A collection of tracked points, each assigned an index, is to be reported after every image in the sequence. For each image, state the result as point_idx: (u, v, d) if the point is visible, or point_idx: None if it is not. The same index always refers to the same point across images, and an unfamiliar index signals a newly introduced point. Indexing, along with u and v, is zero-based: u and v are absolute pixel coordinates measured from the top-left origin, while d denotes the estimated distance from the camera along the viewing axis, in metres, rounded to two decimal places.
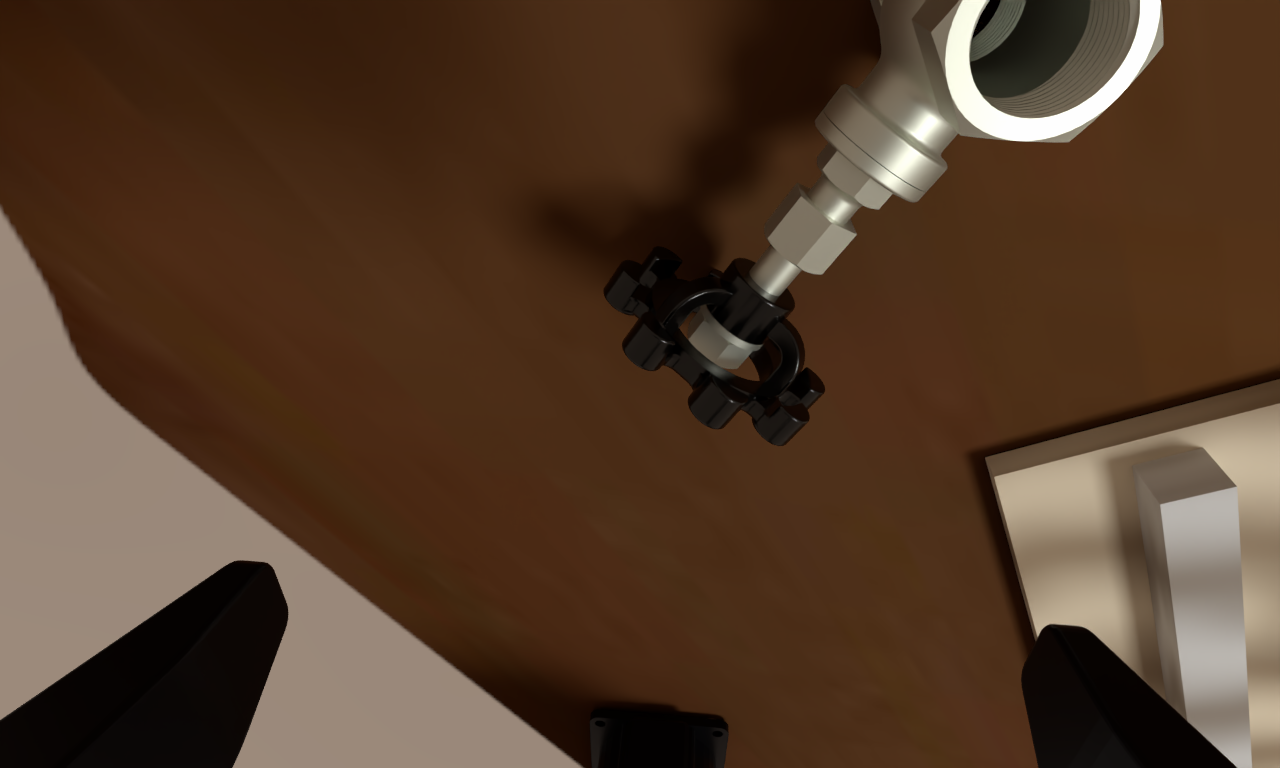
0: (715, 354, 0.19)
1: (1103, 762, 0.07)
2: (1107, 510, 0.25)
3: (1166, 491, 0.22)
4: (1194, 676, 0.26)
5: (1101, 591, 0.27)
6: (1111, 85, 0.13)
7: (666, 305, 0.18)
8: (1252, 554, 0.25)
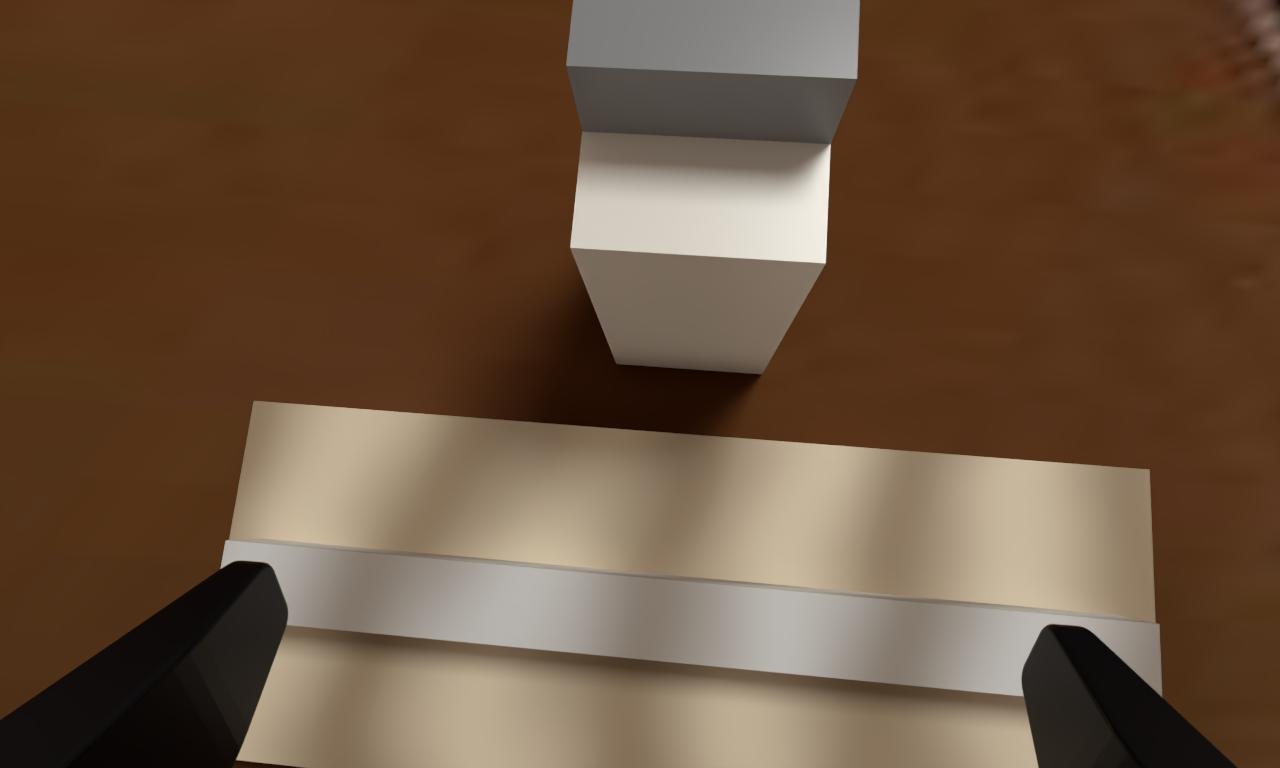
0: None
1: (1103, 762, 0.07)
2: (304, 648, 0.21)
3: None
4: (546, 634, 0.19)
5: (438, 686, 0.21)
6: None
7: None
8: (449, 512, 0.21)
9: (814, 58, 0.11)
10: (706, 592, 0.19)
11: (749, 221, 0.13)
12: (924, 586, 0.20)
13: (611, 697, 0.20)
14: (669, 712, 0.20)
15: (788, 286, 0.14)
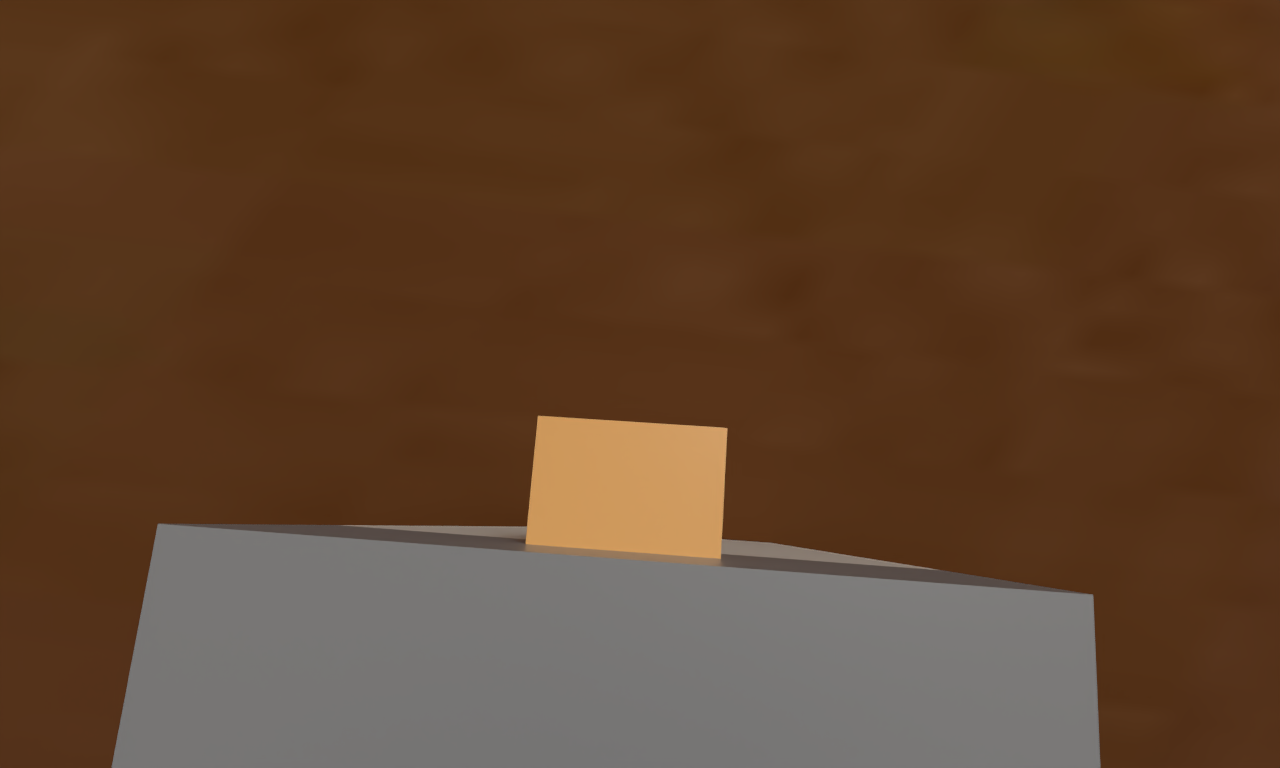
0: None
1: None
2: None
3: None
4: None
5: None
6: None
7: None
8: None
9: None
10: None
11: None
12: None
13: None
14: None
15: None
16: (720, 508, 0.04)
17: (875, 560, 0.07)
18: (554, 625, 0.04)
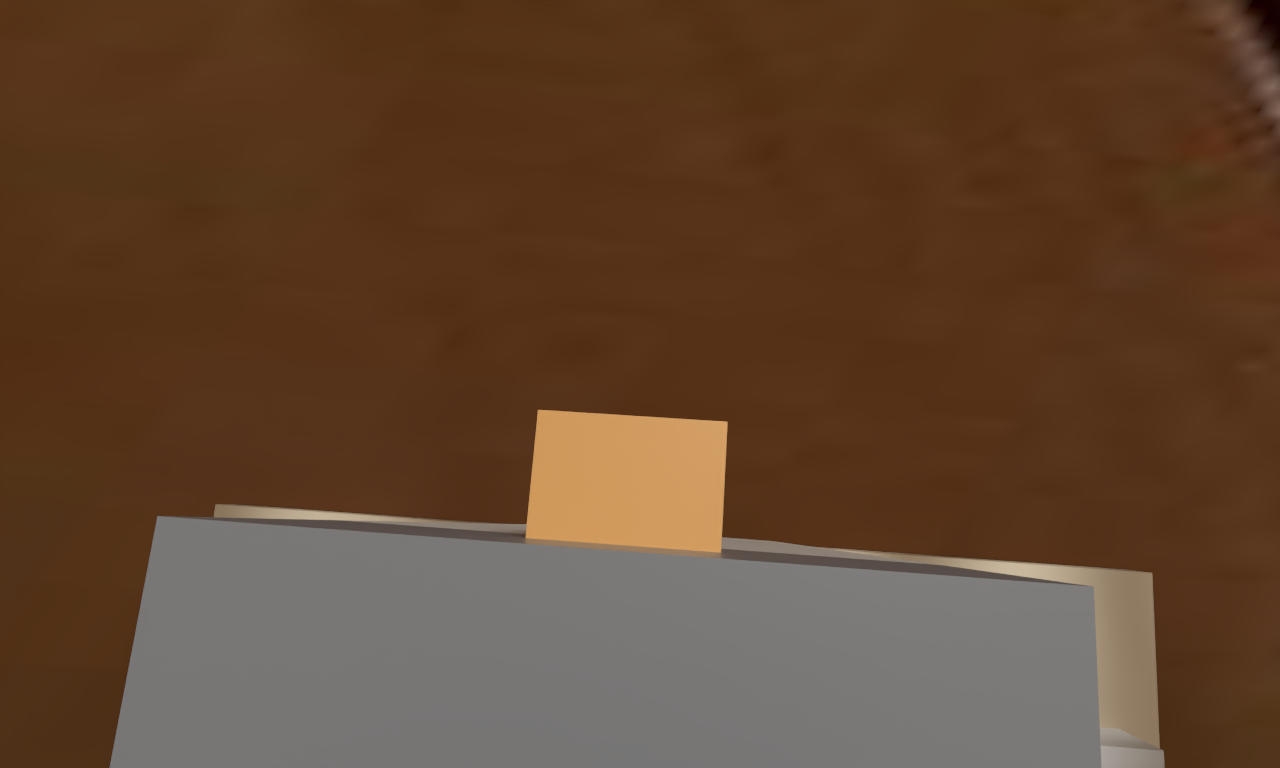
0: None
1: None
2: None
3: None
4: None
5: None
6: None
7: None
8: None
9: None
10: None
11: None
12: None
13: None
14: None
15: None
16: (720, 501, 0.04)
17: (875, 556, 0.07)
18: (554, 617, 0.04)
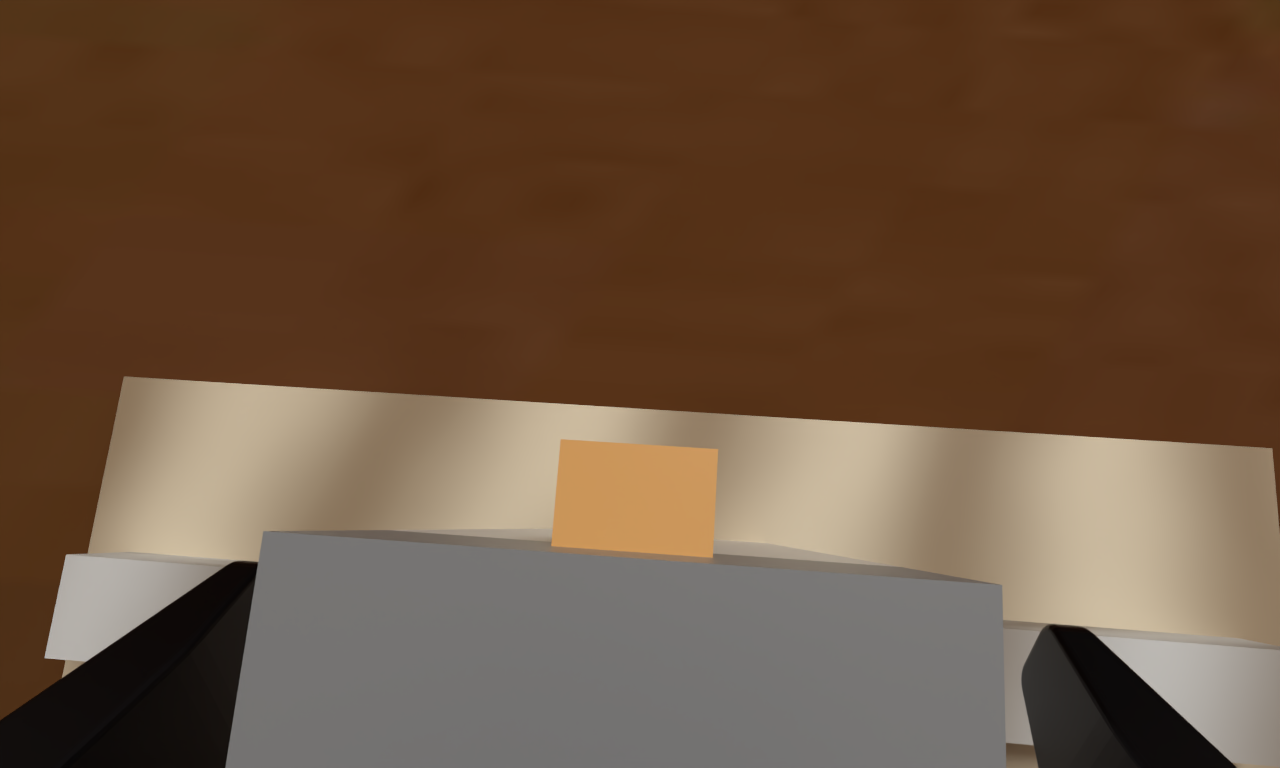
0: None
1: (1103, 762, 0.07)
2: None
3: None
4: None
5: None
6: None
7: None
8: (370, 515, 0.17)
9: None
10: None
11: None
12: None
13: None
14: None
15: None
16: (712, 516, 0.05)
17: (851, 559, 0.08)
18: (580, 610, 0.04)
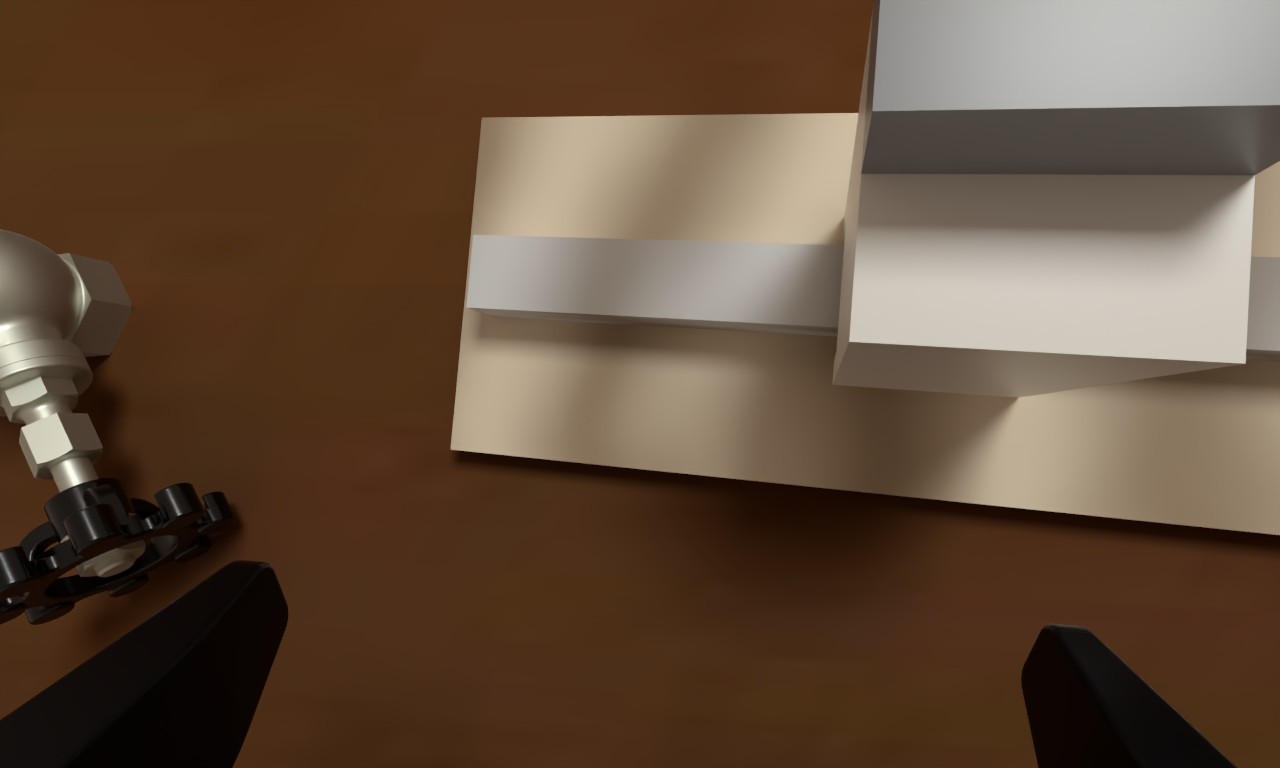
0: None
1: (1103, 762, 0.07)
2: (546, 351, 0.21)
3: None
4: (801, 309, 0.18)
5: (680, 383, 0.20)
6: None
7: None
8: (683, 213, 0.21)
9: None
10: None
11: (1119, 301, 0.09)
12: None
13: (862, 391, 0.19)
14: (928, 405, 0.19)
15: (1151, 370, 0.10)
16: None
17: None
18: None
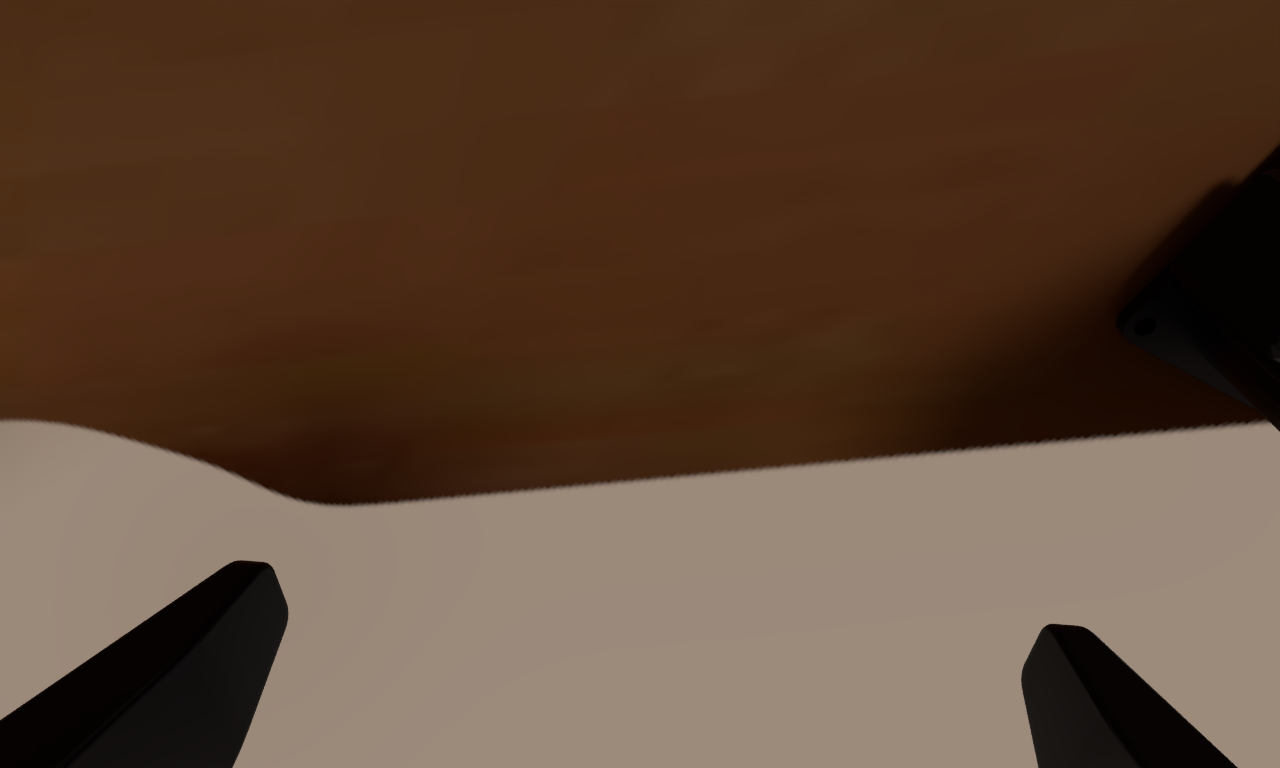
0: None
1: (1103, 762, 0.07)
2: None
3: None
4: None
5: None
6: None
7: None
8: None
9: None
10: None
11: None
12: None
13: None
14: None
15: None
16: None
17: None
18: None
